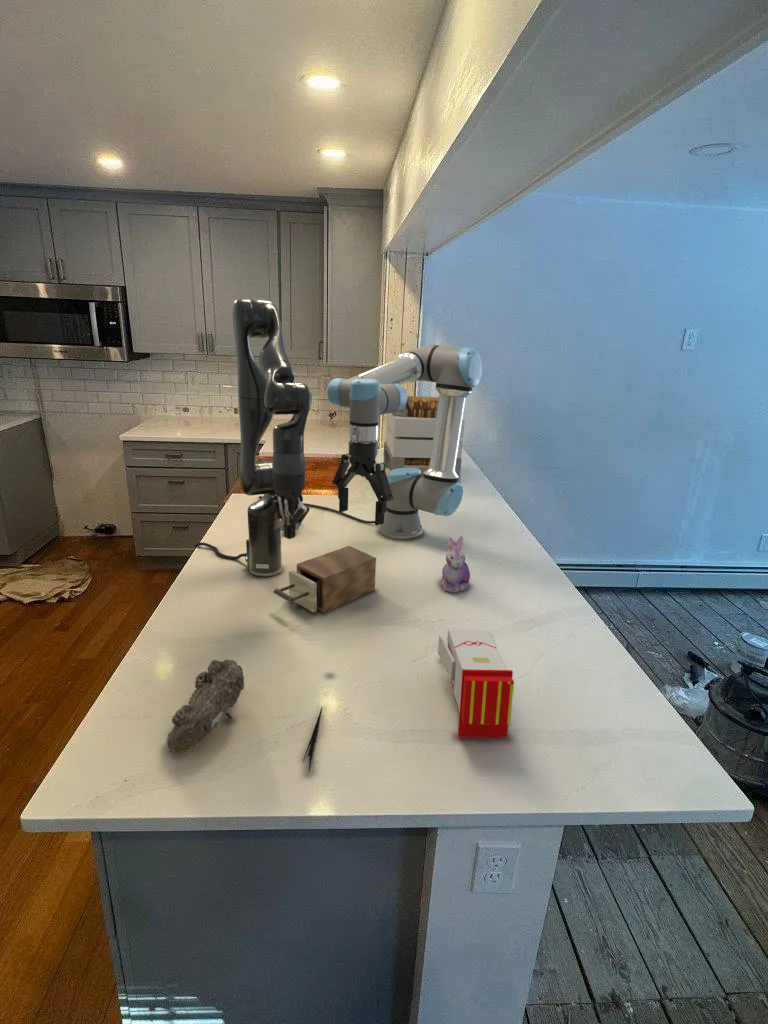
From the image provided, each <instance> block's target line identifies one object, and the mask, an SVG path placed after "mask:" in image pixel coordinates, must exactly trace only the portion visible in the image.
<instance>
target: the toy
mask: <svg viewBox="0 0 768 1024" xmlns="http://www.w3.org/2000/svg"><path fill="white" fill-rule="evenodd" d="M446 640H447V643H446V641H445V639H444V636H443V635H442V634H439V637H438V646H437V656H438V657H439V659H440V661H441V663H442V666H443V668H444V670H445V672H446V674H447V677H448V679H449V681H450V684H451V687H452V690H453V693H454V697H455V701H456V705H457V708H458V711H459V714H458V715H459V716H458V730H457V731H458V732H457V737H458V738H508V731H509V726H510V725H511V717H512V707H513V697H514V696H513V695H514V684H515V680H514V679H513V673H514V671H513V670H512V669H508V667H507V665H506V662H505V661H504V659H503V658H502V655H501V653H500V651H499V649H498V647H497V643H496V639H495V637H494V635H493V634H491V632H490V631H489V629H467V628H466V629H465V628H463V629H461V628H460V629H459V628H448V630H447V639H446Z"/></svg>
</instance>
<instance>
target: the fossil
mask: <svg viewBox="0 0 768 1024" xmlns="http://www.w3.org/2000/svg"><path fill="white" fill-rule="evenodd" d="M243 670H244V669H243V667H242V665H240V664H237V662H236V661H235V660H234V659H232V658H231V659H227V658H226V659H224V660H223V661H222V660H217V659H212V660H211V661H210V663H209V665H208V666H207V671H201V672H199V673H198V674H197V675H196V676H195V680H194V684H195V685H194V687H195V689H194V690H193V693H192V694H191V697H190V698H189V700H188V704H184V705H182V706H181V707H180V709H177V710H176V711H175V713H174V715H173V716H172V718H171V723H172V724H173V727H172V730H171V731H170V732H168V734H167V738H166V741H167V742H166V745H167V749H168V750H169V751H173V752H174V753H176V754H178V753H182V752H188V751H189V752H192V751H193V750H195V748H196V747H197V746H199V744H200V743H201V742H203V741H204V740H205V739H206V738H207V737H208V736H209V735H210V734H211V733H212V732H214V730H215V729H217V727H218V726H219V724H220V722H221V721H222V720H223V719H224V718H225V716H226V717H227V719H229V720H233V717H232V715H230V714H229V710H230V709H231V708H234V706H235V704H236V703H237V702H238V699H239V697H240V695H241V693H242V691H243V690H245V689H244V688H245V675H244V671H243Z"/></svg>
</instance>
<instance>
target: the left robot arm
mask: <svg viewBox="0 0 768 1024" xmlns="http://www.w3.org/2000/svg"><path fill="white" fill-rule="evenodd" d="M232 324H233V334H234V343H235V344H234V345H235V353H236V354H235V355H236V366H237V403H238V418H239V432H240V433H239V434H240V459H239V462H240V463H239V481H240V486H241V490H242V492H243V493H244V495H246V496H261V495H263V496H262V498H259V499H258V500H256V501H254V502H252V503H251V504H250V505H249V506H248V507H247V527H248V528H247V532H248V538H247V539H246V540H245V541H246V542H245V546H246V547H245V548H246V552H244V553H240V554H238V555H236V556H232V555H227V554H223V553H222V552H220V551H219V549H218V547H216V546H214V545H212V544H210V543H207V542H204V541H203V542H202V541H201V542H197V543H196V544H195V545H194V547H195V548H198V547H200V546H204V547H207V548H210V549H212V550H214V552H215V553H216V555H217V556H219V557H221V558H224V559H227V560H240V559H241V558H245V560H244V561H245V562H246V568H247V570H248V571H249V573H250V574H252V575H253V576H257V577H265V578H266V577H272V576H276V575H278V574H280V573H281V572H282V570H283V565H282V530H281V519H282V522H283V523H284V530H283V536H284V538H285V539H288V540H291V539H295V537H296V535H297V534H296V532H297V530H296V524H299V523H301V524H302V522H303V521H304V520H305V519H306V516H307V515H308V513H309V512H310V506H305V505H304V504H303V503H304V502H303V501H304V497H303V491H304V489H305V488H306V458H305V449H304V448H305V429H306V425H307V419H308V416H309V412H310V410H311V406H312V400H313V399H312V398H313V396H312V392H311V388H310V387H309V386H308V385H307V384H306V383H304V382H299V381H297V382H295V378H296V375H295V370H294V369H293V366H292V363H291V361H290V359H289V356H288V353H287V350H286V345H285V340H284V334H283V328H282V323H281V318H280V314H279V311H278V308H277V306H276V304H275V303H274V302H272V301H271V300H267V299H253V298H252V299H250V298H238V299H236V300H234V302H233V306H232ZM249 338H251V339H252V338H255V339H266V338H268V339H267V341H266V342H265V343H264V344H263V347H262V348H261V350H260V352H259V357H258V362H257V360H256V358H255V357H254V354H253V352H252V350H251V345H250V340H249ZM258 363H259V364H258ZM274 415H275V416H281V415H282V416H283V415H292V417H291V418H290V420H289V421H287V422H284V423H280V424H277V425H275V426H274V427H273V428H272V459H271V460H270V459H269V460H260V461H256V456H257V452H258V451H257V450H258V448H259V445H260V442H261V440H262V438H263V437H264V435H265V433H266V431H267V429H268V428H269V426H270V424H271V422H272V421H273V418H274Z"/></svg>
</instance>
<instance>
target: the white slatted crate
mask: <svg viewBox="0 0 768 1024" xmlns="http://www.w3.org/2000/svg"><path fill="white" fill-rule="evenodd" d="M405 391H406V392H407V390H406V389H405ZM438 401H439V396H415V395H414V396H413V395H412V396H411V395H407V402H406V405H405V406H404V408H403V409H401V410H399V411H396V412H394V413H387V414H385V423H386V428H385V438H384V442H383V463H385V467H388V468H389V471H391V470H394V469H398V468H405V466H406V467H407V466H411V467H412V466H413V467H415V466H416V467H417V466H418V467H429V464H430V457H431V450H432V443H433V436H434V429H435V422H436V415H437V408H438ZM464 429H465V419H464V418H463V421H462V427H461V434H460V440H459V447H458V454H457V460H456V467H455V472H456V474H457V475H458V476H459V478H458V483H461V472H462V461H463V460H462V453H463V442H464V441H463V440H462V439H463V438H464V431H465V430H464Z"/></svg>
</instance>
